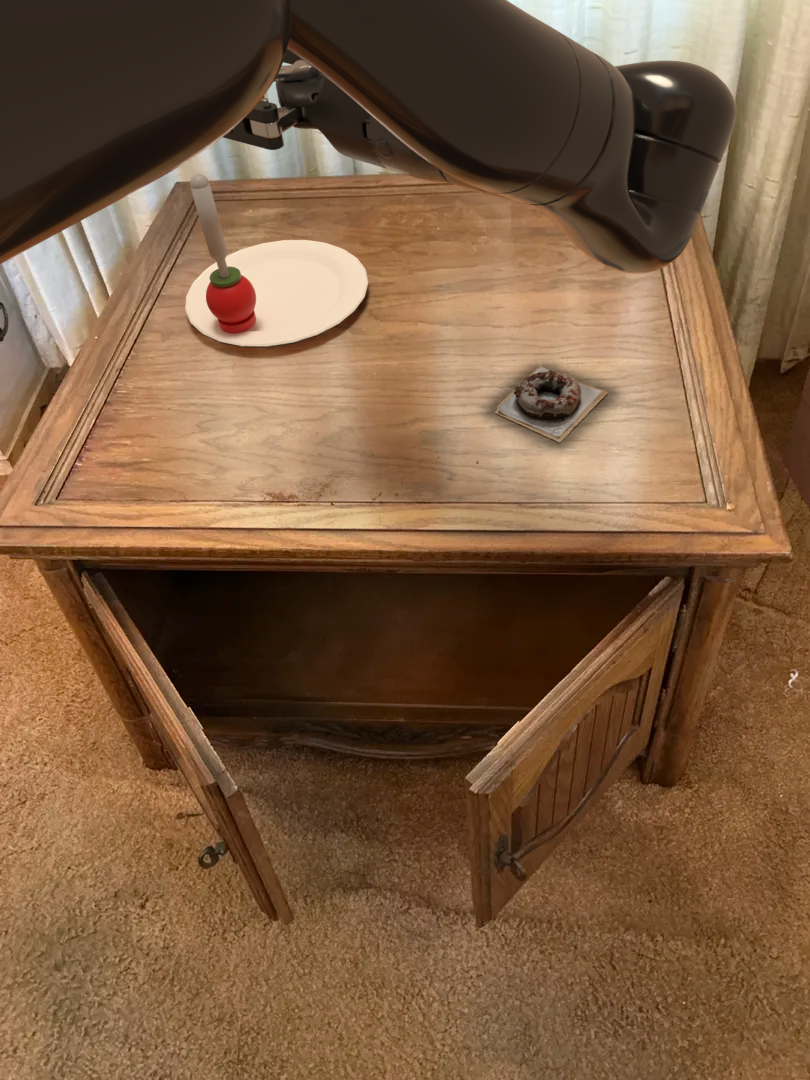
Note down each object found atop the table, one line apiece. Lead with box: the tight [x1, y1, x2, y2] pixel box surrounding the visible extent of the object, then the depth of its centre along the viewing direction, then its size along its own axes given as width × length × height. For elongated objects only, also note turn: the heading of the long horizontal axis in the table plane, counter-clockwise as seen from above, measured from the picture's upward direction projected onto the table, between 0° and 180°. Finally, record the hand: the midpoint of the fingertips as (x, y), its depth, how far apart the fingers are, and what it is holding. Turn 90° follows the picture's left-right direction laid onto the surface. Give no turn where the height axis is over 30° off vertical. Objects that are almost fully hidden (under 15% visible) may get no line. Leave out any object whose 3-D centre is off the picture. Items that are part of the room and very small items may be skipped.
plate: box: [184, 239, 369, 349], centre depth 96 cm, size 21×21×2 cm
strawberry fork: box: [189, 173, 256, 333], centre depth 85 cm, size 5×5×16 cm
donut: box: [494, 365, 608, 443], centre depth 81 cm, size 8×8×2 cm
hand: (233, 63), depth 61 cm, fingers open, 8 cm apart
